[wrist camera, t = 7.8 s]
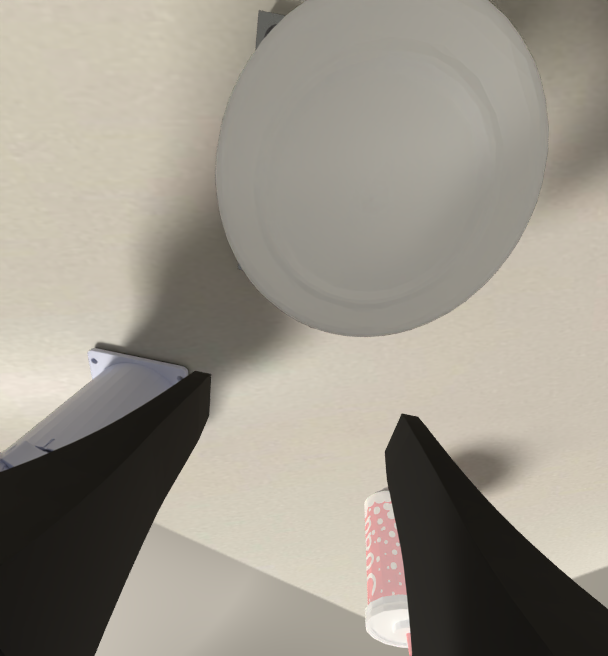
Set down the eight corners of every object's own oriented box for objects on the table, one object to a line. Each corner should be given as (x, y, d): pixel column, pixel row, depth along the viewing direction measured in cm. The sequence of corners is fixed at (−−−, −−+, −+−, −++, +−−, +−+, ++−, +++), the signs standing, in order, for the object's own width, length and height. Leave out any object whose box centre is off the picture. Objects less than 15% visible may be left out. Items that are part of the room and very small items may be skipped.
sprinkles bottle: (284, 194, 16) (147, 222, 4) (339, 116, 15) (368, -218, 2) (345, 248, 17) (374, 392, 5) (404, 180, 15) (651, 166, 3)
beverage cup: (378, 476, 27) (416, 727, 15) (433, 500, 28) (515, 758, 15) (345, 511, 30) (353, 748, 17) (396, 531, 30) (440, 773, 18)
